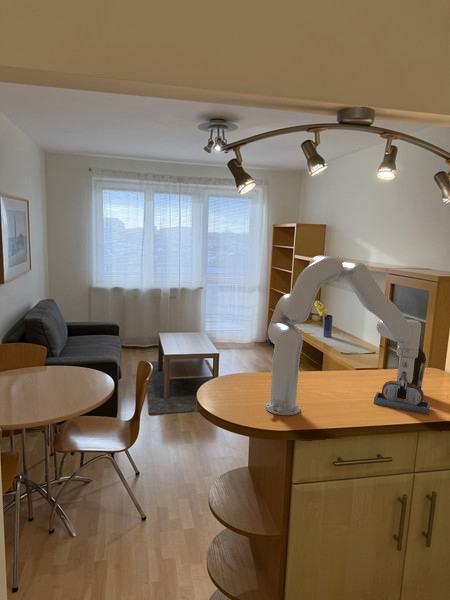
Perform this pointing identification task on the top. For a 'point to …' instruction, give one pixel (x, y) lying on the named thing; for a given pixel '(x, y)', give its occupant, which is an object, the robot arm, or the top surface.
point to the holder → (402, 404)
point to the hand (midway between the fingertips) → (402, 394)
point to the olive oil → (418, 368)
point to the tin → (412, 396)
